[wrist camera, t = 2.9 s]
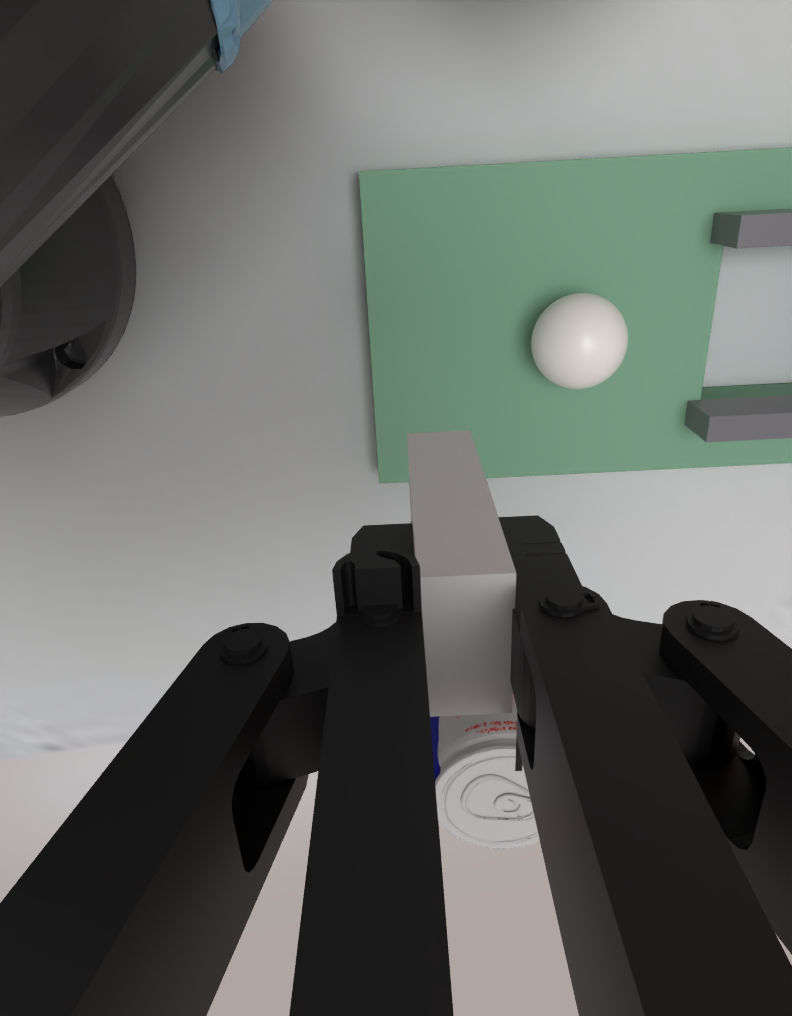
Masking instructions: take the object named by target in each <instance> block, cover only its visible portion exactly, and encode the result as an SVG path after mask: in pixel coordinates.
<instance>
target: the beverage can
mask: <svg viewBox="0 0 792 1016" xmlns="http://www.w3.org/2000/svg"><path fill="white" fill-rule="evenodd" d="M430 723H431V735H432V748H433V761H434V774H435V787H436V799H437V812H438V821H439V823H440V824H441V825H442V826H443V827H444V829H446V830H447V831H448V832H449V833H450V834H451V835H453V836H454V837H456V838H458V839H459V840H461V841H464V842H466V843H469V844H472V845H474V846H479V847H484V848H493V849H508V848H517V847H523V846H528V845H530V844H533V843H536V842H539V841H540V839H539V834H538V830H537V826H536V821H535V817H534V812H533V808H532V803H531V799H530V794H529V790H528V785H527V781H526V776H525V772H524V768H523V766H522V771H515V762H516V733H517V707H516V703H515V699H514V695H513V696H512V713H504V714H481V715H458V716H435V717H430Z"/></svg>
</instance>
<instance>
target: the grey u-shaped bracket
mask: <svg viewBox="0 0 792 1016" xmlns="http://www.w3.org/2000/svg"><path fill="white" fill-rule="evenodd" d="M710 243H712V244H717V245H723V246H728V247H733V248H749V247H768V246H786V245H792V209H774V210H755V211H737V212H719V213H714V217H713V224H712V231H711V239H710ZM684 425H686V426H687V427H688V428H689V429H690V430H692V431H693V432H694V433H695V434H696V435H698V436H699V437H700V438H701V439H703V440H704V441H705V442H725V441H745V440H765V439H785V438H792V395H786V396H767V397H747V398H727V399H707V400H688V402H687V409H686V416H685V424H684Z"/></svg>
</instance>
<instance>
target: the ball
mask: <svg viewBox="0 0 792 1016" xmlns="http://www.w3.org/2000/svg"><path fill="white" fill-rule="evenodd" d="M627 346H628V330H627V326H626V323H625V320H624V318H623V316H622V314H621V312H620V311H619V310H618V309H617V307H616V306H615V305H613V304H612V303H611V302H610V301H608V300H607V299H605V298H603V297H601V296H598V295H595V294H591V293H574V294H570V295H566V296H564V297H561V298H560V299H558V300H556V301H554V302H553V303H552V304H550V305H549V306H548V307H547V308H546V309H545V310H544V311H543V312H542V314H541V315H540V317H539V318H538V320H537V322H536V324H535V326H534V329H533V333H532V340H531V349H532V355H533V358H534V361H535V363H536V365H537V367H538V369H539V370H540V372H541V373H542V374H543V375H544V376H545V377H546V378H547V379H548V380H550V381H551V382H553V383H554V384H556V385H558V386H561V387H565V388H569V389H585V388H589V387H593V386H595V385H598V384H600V383H602V382H603V381H605V380H606V379H608V378H609V377H610V376H611V375H612V374H613V373H614V372H615V371H616V370H617V369H618V367H619V366H620V364H621V363H622V361H623V359H624V357H625V354H626V351H627Z"/></svg>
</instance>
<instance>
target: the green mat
mask: <svg viewBox="0 0 792 1016" xmlns="http://www.w3.org/2000/svg"><path fill="white" fill-rule="evenodd" d="M359 184H360V199H361V215H362V230H363V245H364V260H365V275H366V291H367V306H368V321H369V336H370V351H371V367H372V382H373V397H374V412H375V427H376V443H377V458H378V473H379V483H397V482H409V463H408V441H407V433H426V432H446V431H466V430H470V431H471V435H472V438H473V441H474V444H475V447H476V450H477V453H478V456H479V459H480V462H481V465H482V469H483V472H484V475H485V478H498V477H518V476H539V475H559V474H579V473H599V472H620V471H640V470H660V469H681V468H701V467H721V466H742V465H762V464H782V463H792V438H785V439H765V440H745V441H725V442H705V441H704V440H703V439H701V438H700V437H699V436H698V435H696V434H695V433H694V432H693V431H692V430H690V429H689V428H688V427H687V426H686V425H684V424H685V416H686V409H687V402H688V400H707V399H727V398H747V397H767V396H786V395H792V383H779V384H759V385H739V386H720V387H702V386H703V379H704V372H705V366H706V359H707V352H708V346H709V339H710V332H711V325H712V319H713V312H714V305H715V298H716V292H717V285H718V278H719V272H720V265H721V258H722V251H723V245H717V244H712V243H710V239H711V231H712V224H713V217H714V213H719V212H737V211H755V210H774V209H792V148H776V149H758V150H740V151H722V152H704V153H686V154H668V155H650V156H632V157H613V158H595V159H577V160H559V161H541V162H523V163H505V164H487V165H469V166H451V167H433V168H415V169H397V170H378V171H360V172H359ZM574 293H591V294H595V295H598V296H601V297H603V298H605V299H607V300H608V301H610V302H611V303H612V304H613V305H615V306H616V307H617V309H618V310H619V311H620V312H621V314H622V316H623V318H624V320H625V323H626V326H627V330H628V346H627V351H626V354H625V357H624V359H623V361H622V363H621V364H620V366H619V367H618V369H617V370H616V371H615V372H614V373H613V374H612V375H611V376H610V377H609V378H608V379H606V380H605V381H603V382H602V383H600V384H598V385H595V386H593V387H589V388H585V389H569V388H565V387H561V386H558V385H556V384H554V383H553V382H551V381H550V380H548V379H547V378H546V377H545V376H544V375H543V374H542V373H541V372H540V370H539V369H538V367H537V365H536V363H535V361H534V358H533V355H532V349H531V340H532V333H533V329H534V326H535V324H536V322H537V320H538V318H539V317H540V315H541V314H542V312H543V311H544V310H545V309H546V308H547V307H548V306H549V305H550V304H552V303H553V302H554V301H556V300H558V299H560V298H561V297H564V296H566V295H570V294H574Z"/></svg>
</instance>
